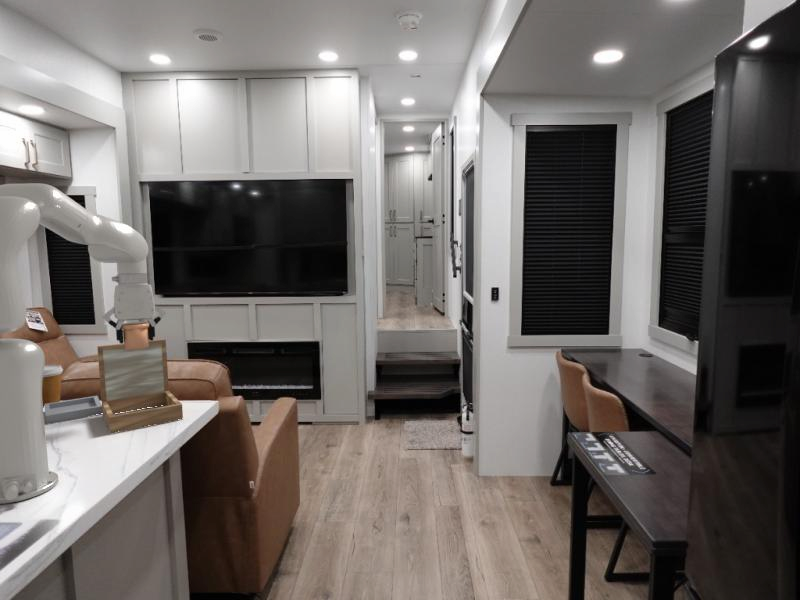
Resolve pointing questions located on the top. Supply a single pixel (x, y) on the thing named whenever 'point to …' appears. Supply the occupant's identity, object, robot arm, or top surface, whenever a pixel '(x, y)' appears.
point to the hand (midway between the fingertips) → (136, 340)
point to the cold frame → (136, 386)
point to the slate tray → (72, 409)
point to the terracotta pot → (135, 335)
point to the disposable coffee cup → (51, 384)
